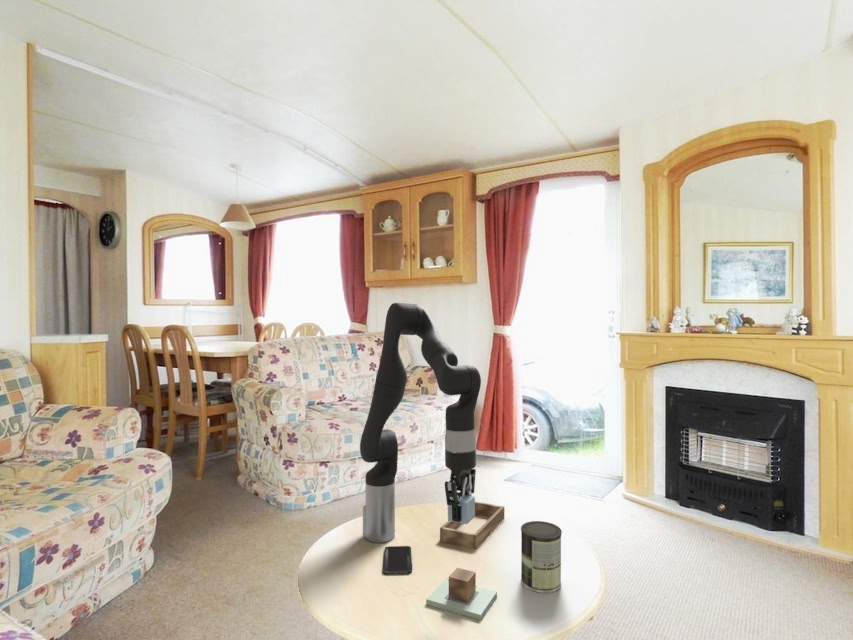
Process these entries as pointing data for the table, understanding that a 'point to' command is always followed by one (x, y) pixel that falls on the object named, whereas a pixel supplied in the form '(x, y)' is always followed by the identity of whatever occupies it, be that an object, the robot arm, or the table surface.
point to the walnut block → (462, 584)
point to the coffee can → (541, 556)
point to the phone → (397, 560)
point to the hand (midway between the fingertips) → (461, 516)
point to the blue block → (464, 509)
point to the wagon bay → (474, 540)
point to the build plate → (471, 609)
